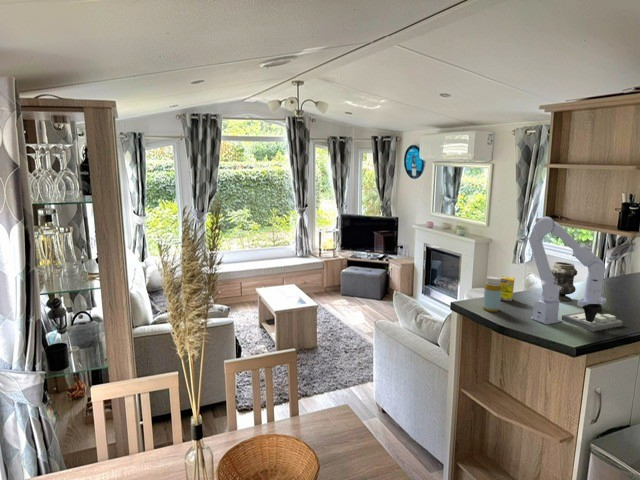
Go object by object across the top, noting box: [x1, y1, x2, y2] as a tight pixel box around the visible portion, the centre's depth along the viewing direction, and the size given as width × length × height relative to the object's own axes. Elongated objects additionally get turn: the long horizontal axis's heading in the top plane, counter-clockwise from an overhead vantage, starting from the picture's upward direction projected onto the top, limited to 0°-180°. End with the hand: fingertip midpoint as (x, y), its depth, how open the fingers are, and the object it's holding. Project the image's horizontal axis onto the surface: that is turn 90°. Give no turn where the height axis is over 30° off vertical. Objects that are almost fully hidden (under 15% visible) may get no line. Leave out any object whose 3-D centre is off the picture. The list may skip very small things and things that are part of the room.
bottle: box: [482, 275, 501, 313], centre depth 199 cm, size 7×7×15 cm
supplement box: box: [500, 276, 515, 303], centre depth 214 cm, size 6×6×11 cm
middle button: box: [593, 316, 606, 323], centre depth 182 cm, size 4×4×2 cm
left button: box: [582, 320, 596, 325], centre depth 180 cm, size 4×4×2 cm
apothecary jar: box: [550, 261, 578, 302], centre depth 217 cm, size 12×12×18 cm
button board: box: [561, 311, 623, 332], centre depth 185 cm, size 18×14×2 cm
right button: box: [602, 313, 617, 321], centre depth 185 cm, size 4×4×2 cm
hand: (589, 321), depth 180 cm, fingers closed, pressing on left button
